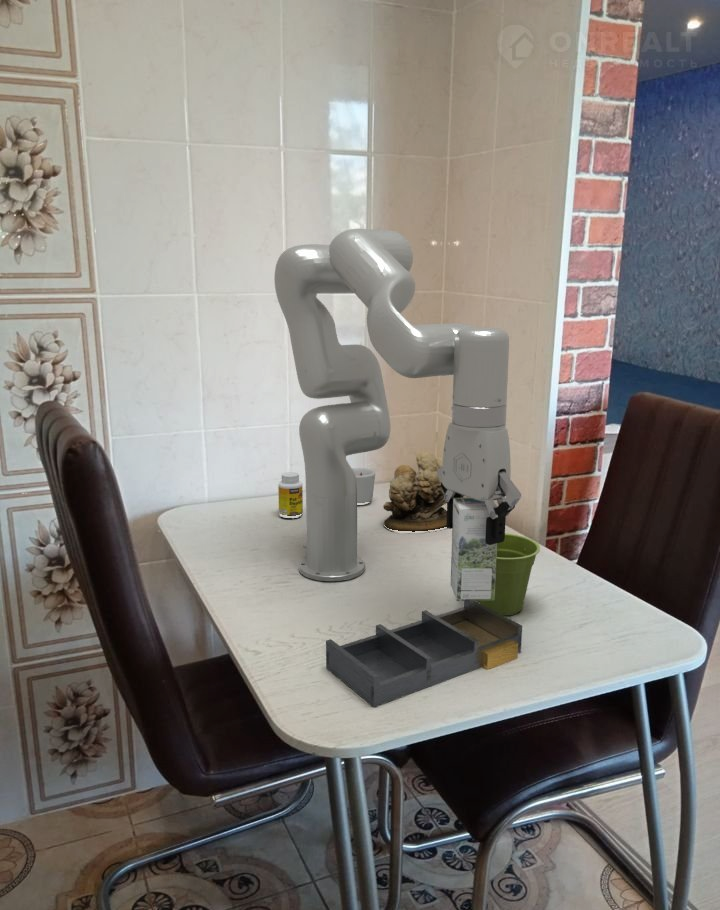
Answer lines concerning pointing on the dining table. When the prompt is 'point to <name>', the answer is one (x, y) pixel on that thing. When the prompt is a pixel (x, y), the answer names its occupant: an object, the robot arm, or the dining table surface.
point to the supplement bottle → (290, 494)
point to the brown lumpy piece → (417, 497)
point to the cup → (364, 484)
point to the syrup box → (472, 552)
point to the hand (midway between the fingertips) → (474, 533)
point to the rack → (424, 652)
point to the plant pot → (512, 573)
